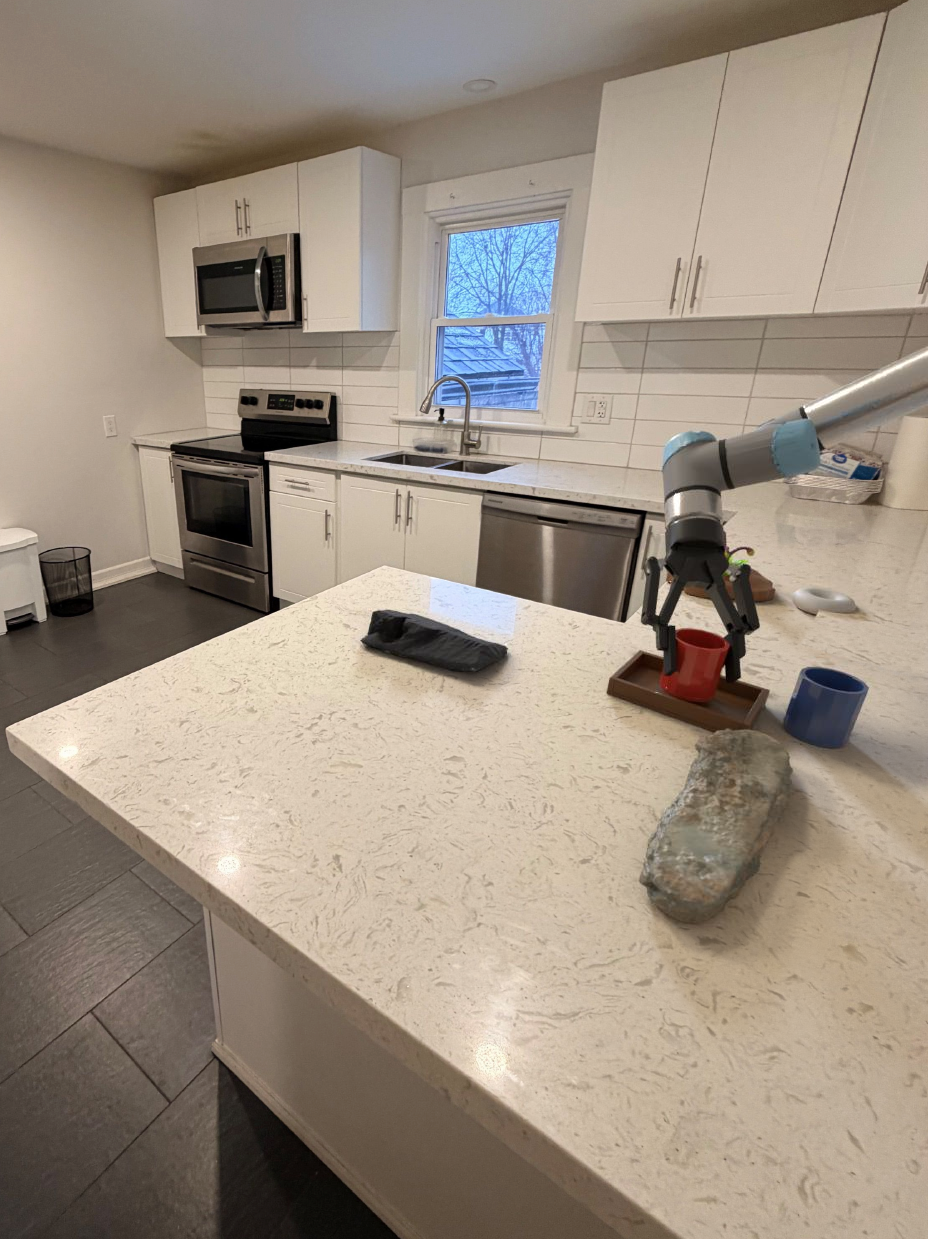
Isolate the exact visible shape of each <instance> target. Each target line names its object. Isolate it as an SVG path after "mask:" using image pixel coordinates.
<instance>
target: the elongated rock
mask: <svg viewBox="0 0 928 1239" xmlns="http://www.w3.org/2000/svg"><path fill="white" fill-rule="evenodd" d="M694 749H695V750H696V751H697V753H698V754H697V756H696V757H695V758H694V760H693V761H692V762H691V764H690V769H689V773H688V774H687V777H686V780H685V783H684V787H683V789H682V791H680V792H679V793H678V795H677V796H676V798H675V799H673V801H672V802H671V804H670V806H668V807H667V808H666V809H665V811H664V812H663V814H662V815H661V816H660V819H659V822H658V823H657V826H656V829H655V830H654V831H653V832H652V833H651V835H650V837H649V838H648V839H647V848H646V851H645V859H644V861H643V864H642V865H643V866H642V868H643V869H641V872H640V875H639V880H638V882H639V884H640V885H642V886H644V887H645V888H646V894H647V897H648V898H649V900H650V901H651V902H652V903H653V904H654V905H655V907H657V908H658V909H659V910H660V911H662V912H663V913H664V914H665V915H668V916H670V917H671V918H673V919H675V920H677V921H680V922H682V923H687V924H688V923H689V924H693V925H703V924H704V923H706V922H707V921H709V920H710V919H715V918H716V917H718V916H720V914H721V913H724V912H725V909H724V908H725V906H726V903H727V902H729V901H731V900H736V899H737V898H738V897H739V895H740V894H741V893H742V888H743V887H745V885H746V881H747V880H749V879H751V878H753V877H754V876H755V874H756V875H757V873H758V872H760V870H761V869H760V868H761V866H760V865H761V859H762V857H763V856H762V852H763V850H764V849H765V847H766V846H767V844H768V843H769V841H770V839H771V838H772V836H773V834H774V832H775V829H776V827H777V825H778V820H781V819H783V818H782V817H783V816H782V813H783V811H784V810H786V809H787V805H788V804H789V802H790V800H791V798H792V797H791V795H790V793H791V791H792V790H793V789H792V788H793V785H792V784H793V780H792V779H791V775H792V773H793V770H794V769H793V767H792V766H791V764H790V763H791V762H790V759H791V756H790V753H789V752H788V751H787V749H786V747H785V746H784V745H783V744H782V743H781V742H780V741H779V740H777V739H775V738H774V737H772V736H770V735H768V734H766V733H763V732H760V731H758V730H754V729H753V730H752V729H751V730H738V731H737V730H735V731H733V730H731V729H728V728H727V729H726V730H720V731H719V730H717V731H716V732H713V734H710V735H708V736H706V735H703V736H700V737H698V739H697V740H696V742H695V744H694Z"/></svg>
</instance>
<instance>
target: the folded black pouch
mask: <svg viewBox="0 0 928 1239" xmlns="http://www.w3.org/2000/svg"><path fill="white" fill-rule="evenodd" d="M369 622H370V623H369V626H368V630H367V633H366V635H365V636H364V637H362V638H361V639H359V641H360V642H361V644H362V645H365V646H367V647H369V648H378V649H380V650H382V651H383V652H387V653H389V654H392V655H396V656H400V657H401V658H407V659H408V658H411V659H413V660H414V659H415V660H418V661H419V662H422V663H428V665H435V666H436V667H441V668H445V669H448V670H452V671H454V672H458V671H460V672H461V671H464V672H477V671H479V670H480V669H482V668H485V667H486V666H488V665H490V664H492V663H494V662H495V661H499V660H501V659H502V658H503V657H505V656H506V655H507V654H508V650H509V648H508V647H507V646H506V645H503V644H501V643H498V642H493V641H488V640H485V639H482V638H478V637H476V636H473V635H470V634H469V633H466V632H465V631H462V630H461V629H458V628H456V627H453V626H450V625H448V624H446V623H442V622H440V621H437V620H434V619H431V618H428V617H426V616H423V615H420V614H416V613H407V612H401V611H398V610H393V609H377V610H374V611H372V613H371V618H370V621H369ZM397 639H398V641H396V640H397ZM394 641H396V642H394Z"/></svg>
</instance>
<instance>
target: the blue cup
mask: <svg viewBox="0 0 928 1239" xmlns="http://www.w3.org/2000/svg"><path fill="white" fill-rule="evenodd" d="M799 671H800V672H799V674H798V677H797V680H796V683H795V685H794V689H793V691H792V694H791V697H790V700H789V703H788V705H787V709H786V711H785V714H784V717H783V721H782V727H783V729H784V730H785V732H787V733H788V734H789V735H791V736H792V737H794V738H796V739H798V740H799V741H801V742H804V743H806V744H809V745H813V746H815V747H820V748H825V749H841V748H844V747H846V746H847V744H848V742H849V740H850V738H851V735H852V732H853V730H854V727H855V725H856V723H857V720H858V718H859V715H860V712H861V710H862V707H863V705H864V702H865V700H866V697H867V695H868V692H869V690H870V687H869V686H868V685H867V683H866V682H865V681H863V680H861V679H860V678H858V677H856V676H855V675H852V674H849V673H847V672H845V671H841V670H837V669H833V668H829V667H822V666H807V667H803V668H801V670H799Z"/></svg>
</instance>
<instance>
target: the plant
mask: <svg viewBox="0 0 928 1239" xmlns="http://www.w3.org/2000/svg"><path fill="white" fill-rule="evenodd" d="M724 541H725V556H726V558H727V559H728V561H729V563H730V564H733V565H737V566H742V565H743V564H747V563H748V562H749V559H739V560H736V561H733V560H734V554H736V553H737V552H739V551H742V550H745V551H746V554H747V555H748V556H749V557H754V555H755V550H754V549H753V548H751V547H749V546H739V547H736V548H734V549H732V550H730V547H729V546H727V545H728V544H727V543H728V542H727V532H726V531H725V530H724ZM665 570H666V569H665ZM722 577H723V579H724V581H725V588H726V590H727V592H728V594H729V596H730V598H731V600H734V601H735V597H734V593H733V588H732V582H733V581H730V580H729V574H728V573H726V572H724V573H723V575H722ZM673 580H674V578H673V577H672V576H671V575H670V573H669V572H668V571H667V570H666V578H665V582H666V583H669V581H671V582H670V583H669V584H670V585H671V584H672V582H673ZM749 581H750V585H751V590H752V594H753V598H754V602H765V601H769V600H773V599H774V597H775V595H776V588H775V587H773V582H772V581H771V580H770V579H768V578H767V577H765V576H764V575H763V574H762V573H761V572H759V571H758V570H756V569H754V568H752V567H751V571H750V577H749ZM683 593H685V594H688V595H691V596H695V597H699V598H704V599H711V598H710V596H708V595H707V594H706V592H705V590H704V589H700V588H696V587H684V589H683Z"/></svg>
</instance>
